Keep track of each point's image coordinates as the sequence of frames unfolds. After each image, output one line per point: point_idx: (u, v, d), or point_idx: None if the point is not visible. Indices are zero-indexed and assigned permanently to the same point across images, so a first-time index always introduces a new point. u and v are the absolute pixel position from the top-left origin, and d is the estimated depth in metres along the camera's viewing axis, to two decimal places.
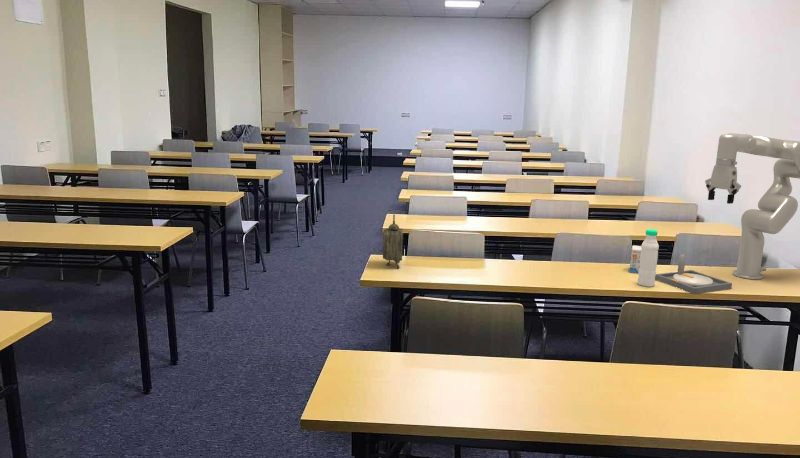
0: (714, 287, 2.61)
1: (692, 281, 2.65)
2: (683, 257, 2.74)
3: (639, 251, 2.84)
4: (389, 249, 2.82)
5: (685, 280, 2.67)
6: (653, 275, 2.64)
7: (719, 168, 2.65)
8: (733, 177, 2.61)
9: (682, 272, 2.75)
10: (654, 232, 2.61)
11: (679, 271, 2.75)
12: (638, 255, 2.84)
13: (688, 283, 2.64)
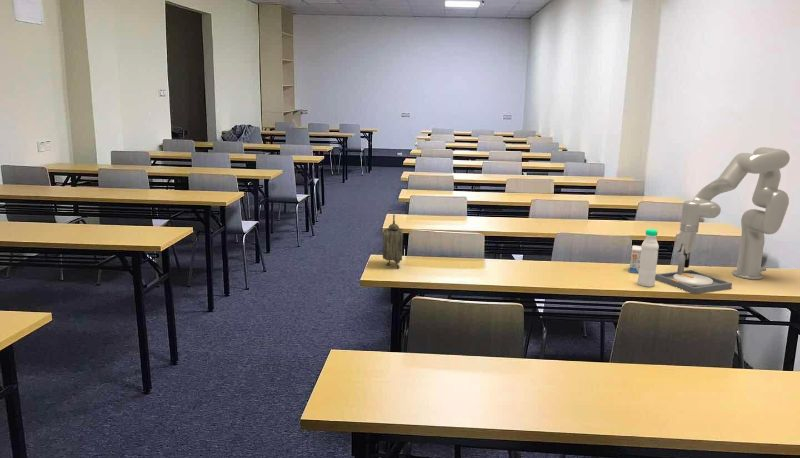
0: (714, 287, 2.61)
1: (692, 281, 2.65)
2: (683, 257, 2.73)
3: (639, 251, 2.84)
4: (389, 249, 2.82)
5: (685, 280, 2.66)
6: (653, 275, 2.64)
7: (693, 234, 2.73)
8: None
9: (682, 272, 2.75)
10: (654, 232, 2.61)
11: (679, 271, 2.75)
12: (638, 255, 2.84)
13: (688, 283, 2.64)
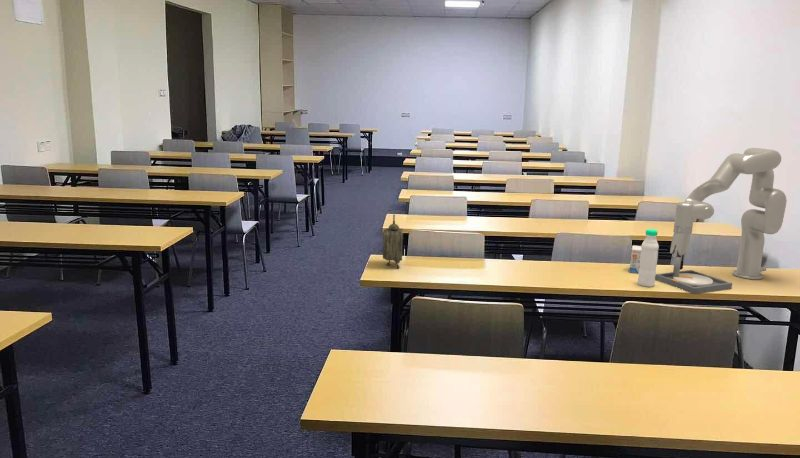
0: (714, 287, 2.61)
1: (702, 281, 2.65)
2: (680, 259, 2.70)
3: (639, 251, 2.84)
4: (389, 249, 2.82)
5: (697, 282, 2.64)
6: (653, 275, 2.64)
7: (687, 236, 2.70)
8: None
9: (679, 274, 2.72)
10: (654, 232, 2.61)
11: (677, 274, 2.71)
12: (638, 255, 2.84)
13: (704, 284, 2.63)
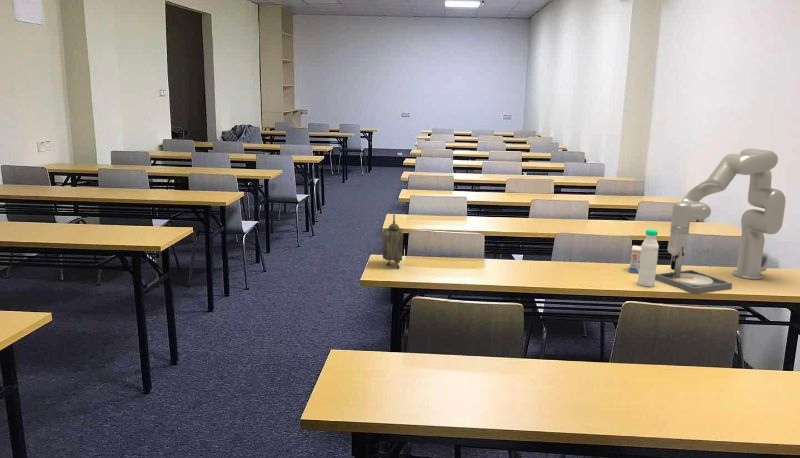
0: (714, 287, 2.61)
1: (705, 281, 2.66)
2: (681, 260, 2.68)
3: (639, 251, 2.84)
4: (389, 249, 2.82)
5: (702, 282, 2.64)
6: (653, 275, 2.64)
7: None
8: None
9: (680, 275, 2.70)
10: (654, 232, 2.61)
11: (679, 275, 2.69)
12: (638, 255, 2.84)
13: (708, 284, 2.63)
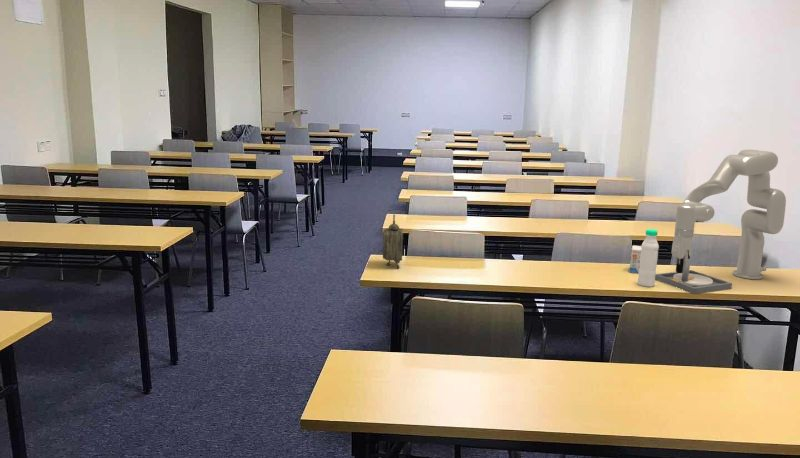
0: (714, 287, 2.61)
1: (706, 279, 2.69)
2: None
3: (639, 251, 2.84)
4: (389, 249, 2.82)
5: (708, 281, 2.66)
6: (653, 275, 2.64)
7: None
8: None
9: None
10: (654, 232, 2.61)
11: (688, 278, 2.65)
12: (638, 255, 2.84)
13: (712, 281, 2.67)
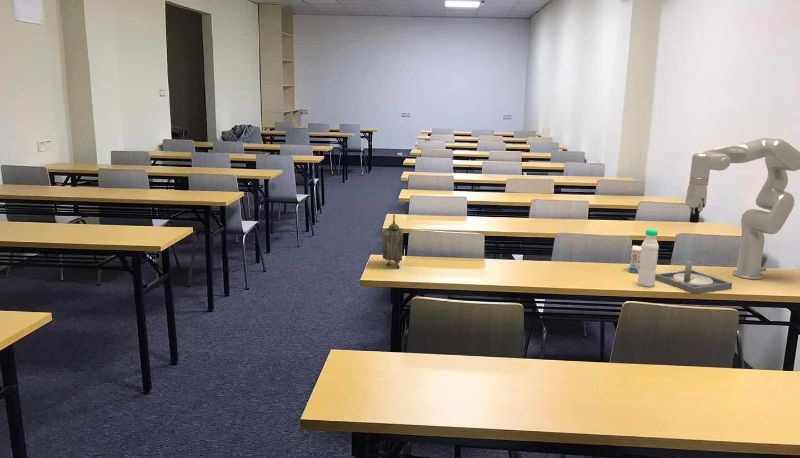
0: (714, 287, 2.61)
1: (706, 278, 2.70)
2: None
3: (639, 251, 2.84)
4: (389, 249, 2.82)
5: (708, 280, 2.67)
6: (653, 275, 2.64)
7: None
8: None
9: None
10: (654, 232, 2.61)
11: (690, 278, 2.64)
12: (638, 255, 2.84)
13: None
